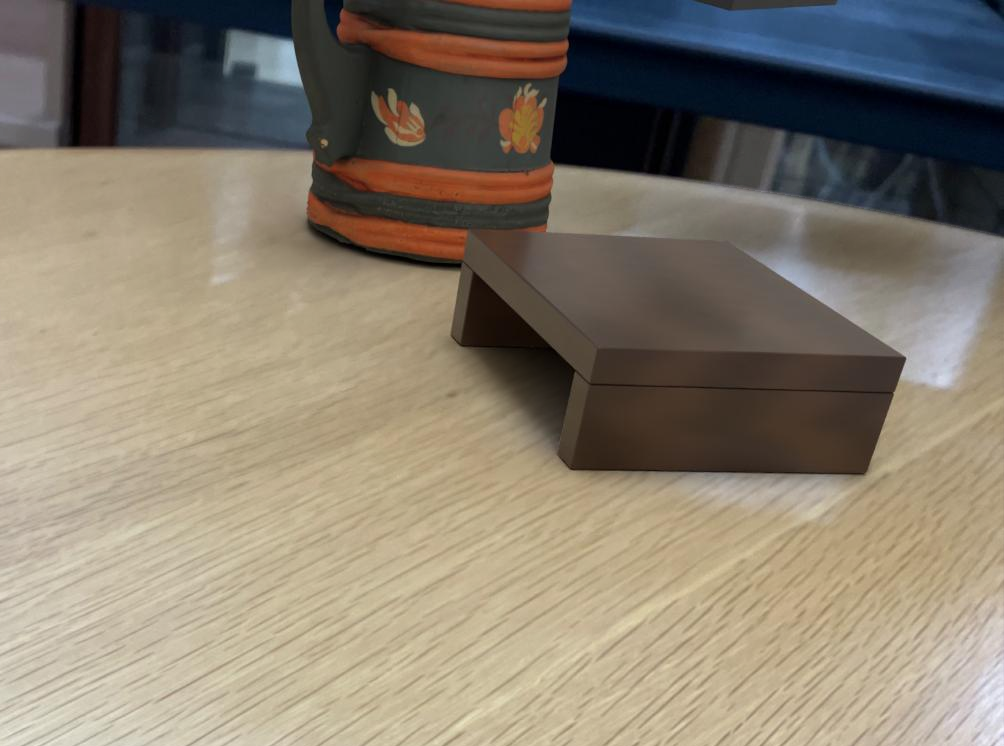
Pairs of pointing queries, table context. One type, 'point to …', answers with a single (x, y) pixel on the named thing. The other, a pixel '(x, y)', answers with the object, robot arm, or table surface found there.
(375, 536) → the table surface
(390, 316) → the table surface
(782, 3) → the blocky cream boot
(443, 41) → the beer stein
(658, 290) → the shoe shelf
